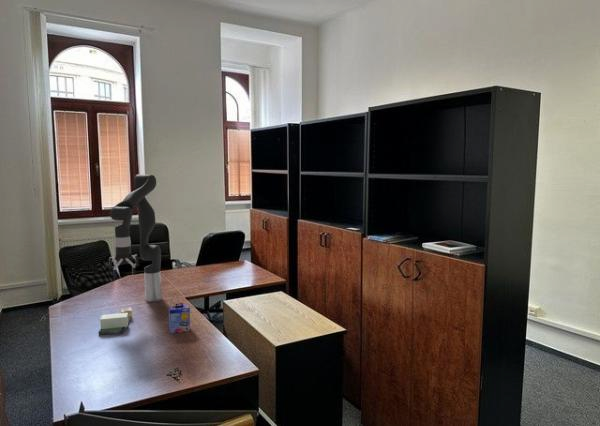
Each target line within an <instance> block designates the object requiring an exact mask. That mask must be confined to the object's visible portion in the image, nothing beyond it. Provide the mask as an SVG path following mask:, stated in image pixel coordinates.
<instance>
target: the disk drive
mask: <svg viewBox="0 0 600 426" xmlns="http://www.w3.org/2000/svg"><path fill="white" fill-rule="evenodd" d="M129 324H130V320H128V325H129ZM126 328H127V327H118V328H108V329H101V328H100V330H99V331H98V336H121V335H122V333H123V332H124V331H125V329H126Z"/></svg>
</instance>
